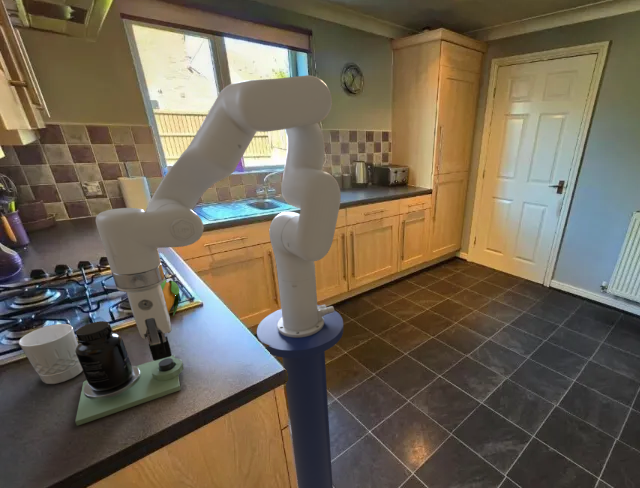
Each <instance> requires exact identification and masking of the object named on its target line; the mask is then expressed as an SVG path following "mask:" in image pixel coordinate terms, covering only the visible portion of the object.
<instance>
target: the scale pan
mask: <svg viewBox="0 0 640 488" xmlns="http://www.w3.org/2000/svg"><path fill="white" fill-rule="evenodd" d="M135 366H136V365H132V368H133V374H132V376H131V378H130V379H129V380H128V381H126V382H125V383H124V384H122V385H120V386H118V387H116V388H113V389H110V390H105V391H96V390H93V389H92V388H91V387H90V386H89V384H88V382H87V383H86V384H85V386H84V388H83V392H84V395H85V396H86V397H87V398H89V399H93V400H100V399H106V398H110V397H113V396H116V395H118V394H121V393H123V392H125V391H126V390H128V389H130V388H131V387H132V386H134V385H135V384H136V383H137V382H138V380H139V379H140V376H141V373H140V370H139V369H138V368H137V367H135Z"/></svg>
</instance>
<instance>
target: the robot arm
mask: <svg viewBox="0 0 640 488" xmlns="http://www.w3.org/2000/svg"><path fill="white" fill-rule="evenodd" d="M332 104H333V97H332V93H331V91H330V88H329V87H328V85H327V84H326V83H325V82H324V81H323V80H322V79H321V78H319V77H317V76H314V75H310V74H308V75H307V74H306V75H298V76H289V77H288V76H287V77H280V78H267V79H266V78H263V79H247V80H243V81H239V82H238V81H237V82H233V83H230V84H228V85H226V86H224V88H223V89H222V90H221V91H220V93H219V94H218V95H217V97H216V99H215V100H214V103H213V104H212V106H211V108H210V109H209V111H208V113H207V115H206V116H205V118H204V120H203V121H202V123H201V125H200V127H199V128H198V130H197V131H196V133H195V135H194V137H193V138H192V140H191V142H190V143H189V145H188V146H187V148H186V149H185V150H184V151H183V152H182V153H181V155H180V156H179V158H178V159H177V160H176V161H175V162H174V164H172V165H173V166H172V167H171V169H170V170H169V171H168V170H167V172H166V174H165V176H163V178H162V180H161V181H160V183H159V185H158V186H157V188H156V190H155V192H154V193H153V195H152V196H151V198H150V200H149V202H148V203H147V206H146V209H145V210H144V209H142V208H137V207H136V208H135V207H121V208H111V209H107V210H103V211H101V212H99V213H98V214H97V215H96V216H95V224H96V228H97V229H96V230H97V231H98V234H99V237H100V240H101V244H102V247H103V250H104V253H105V257H106V259H107V262H108V266H109V269H110V272H111V275H112V278H113V281H114V284H115V289H116V290H118V291H120V292H124V293H126V296H127V300H128V304H129V306H130V309H131V312H132V316H133V320H134V322H135V325H136V328H137V331H138V333H139V335H140V338H141V339H143V340H146V339H147V341H148V348H149V351H150V355H151V357H152V361H156V360H160V359H163V358H167V357H170V356H172V355H173V354H172V349H171V345H170V342H169V339H168V336H166V334H170V333H171V332H172V329H173V328H172V323H171V318H170V312H169V313H168V310H167V306H166V302H165V298H164V294H163V291H162V288H161V285H160V284H162V283H163V282H164V281H165V280H166V277H165V273H164V269H163V265H162V261H161V257H160V253H159V249H162V248H163V249H165V248H166V249H167V248H183V247H188V246H191V245H194V244H195V243H197V242H198V241H199V240H200V239H201V238H202V236H203V233H204V223H203V220H202V218H201V217H200V215H198V214H197V213H196V212H195V211H194V209H195V207H196V205H197V204H198V202H199V201H200V199H201V197H202V196H203V195H204V194H205V193H206V192H207V191H208V190H209V188H211V187H212V186H214V185H215V184H217V183H218V182H221V181H222V180H224V179H227V178H228V177H229V176H231V175H232V174H233V173H234V172H235V171H236V169H237V167H238V165H239V163H240V162H241V160H242V158H243V156H244V155H245V153H246V151H247V149H248V147H249V146H250V144H251V143H252V140H253V139H254V137H255V135H256V134H257V132H258V133H259V132H261V133H262V132H263V133H265V132H267V133H268V132H275V131H281V130H284V133H285V135H286V143H287V145H286V155H285V162H284V166H283V175H282V179H281V185H280V191H281V196H282V198H283V200H284V201H285V203H287V204H289V205H290V206H292V207H295V208H297V209H300V210H299V213H298V212H295V211H283V212H281V213H278V214H276V215H275V216H274V218H273V219H272V221H271V222H270V225H269V230H268V234H269V241H270V245H271V249H272V251H273V255H274V261H275V265H276V266H275V267H276V273H277V284H278V291H279V300H280V309H281V310H282V318H281V319H280V320H279V321H278V323H277V327H278V331H279V332H280V333H281V334H283V335H284V336H287V337H293V338H300V337H307V336H310V335H313V334H315V333H317V332H318V331H320V330H321V329H322V327H323V326H324V318H323V317H324V316H325V315H326V314H330V313H333V312H334V310H335V307H334V306H333V305H330V306H327V305H326V304H321V306H317V305H318V295H317V294H318V293H317V292H318V291H317V279H316V278H317V277H316V263H315V262H318V261H320V260H322V259H323V258H324V257H326V256H327V255H328V253H329V251H330V250H331V248H332V245H333V242H334V237H335V232H336V227H337V222H338V216H339V211H340V206H341V201H342V200H341V197H342V196H341V195H342V193H341V188H340V185H339V183H338V181H337V179H336V178H335V177H334V176H333V175H332V174H331V173H329V172H327V171H325V170H323V167H324V159H325V148H326V147H325V146H326V144H325V138H324V134H323V131H322V129H321V127H320V124H319V123H320V122H322V121H324V120H325V119H326V118H327V117H328V116H329V114H330V112H331V110H332V106H333V105H332ZM326 307H327V308H326Z"/></svg>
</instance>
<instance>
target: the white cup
mask: <svg viewBox="0 0 640 488" xmlns="http://www.w3.org/2000/svg"><path fill="white" fill-rule="evenodd" d="M78 344H79V342H78V338H77V335H76V332H75V331H74V327H73V326H72V325H71V324H68V323H57V324H51V325H46V326H43V327H40V328H37V329H35V330H32V331H30V332H29V333H26V334H25V335H23V336H22V337H21V338H20V339H18V345H19V346H20V349H21V350H22V351H23V353H24V354H25V356H26V358H27V360H28V362H29V363H30V365H31V367H33V369H34V371H35V372H36V373H37V375H38V376H39V378H40V380H41V381H42V383H44V384H46V385H55V384H59V383H64V382H66V381H69V380H71V379H74V378H75V377H77V376H78V375H80V374H81V373H82V372H83V369H82V367H81V365H80V362H79V360H78V358H77V355H76V352H75V350H76V347H77V345H78Z"/></svg>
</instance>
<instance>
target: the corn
mask: <svg viewBox="0 0 640 488" xmlns="http://www.w3.org/2000/svg"><path fill="white" fill-rule="evenodd" d="M160 285H161V288H162V291H163V294H164V298H165V302H166V306H167V310H168V313H169V314H170V311H171V310H172V309H173V310H172V311H173V314H172V317H174V316H175V315H176V313H177V310H178V307H179V303H180V287H179V285H178V284H177V283H176V282H175V281H173V280H172V279H170V280H168V281H167V279H165V281H164V282H163V283H162V284H160ZM175 295H176V296H175ZM178 297H179V298H178Z"/></svg>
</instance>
